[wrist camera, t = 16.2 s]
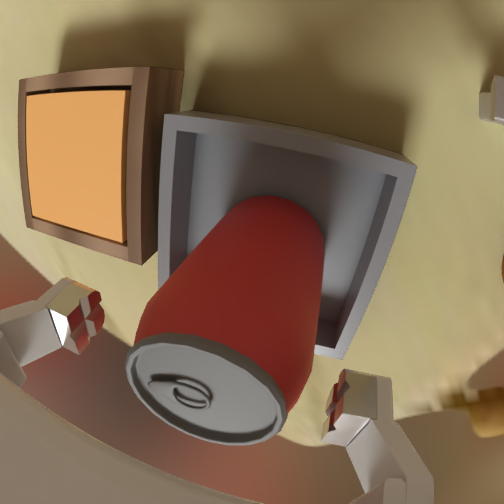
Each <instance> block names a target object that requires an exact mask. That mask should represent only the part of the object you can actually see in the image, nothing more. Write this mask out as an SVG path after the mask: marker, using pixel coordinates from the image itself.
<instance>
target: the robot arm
mask: <svg viewBox="0 0 504 504" xmlns="http://www.w3.org/2000/svg"><path fill="white" fill-rule="evenodd" d="M101 300H102V299H101V295H100V292H98V291H96V290H94V289H92V288H89V287H87V286H85V285H83V284H81V283H79V282H77V281H74V280H72V279H70V278H68V277H65V278H62V279H61V280H60V281H58V282H57V283H56V284H55V285H54V286H53V287H52V288H51V289H49V290H48V291H47V292H46V293H45V294H44V295H42V297H40V298H39V299H38V300H37V301H34V300H32V301H29V302H25V303H22V304H19V305H16V306H13V307H9V308H6V309H3V310H0V504H264V503H259V502H255V501H251V500H247V499H244V498H239V497H236V496H232V495H229V494H226V493H222V492H219V491H216V490H213V489H210V488H207V487H204V486H201V485H198V484H195V483H192V482H189V481H187V480H184V479H181V478H179V477H176V476H173V475H171V474H169V473H166V472H164V471H161V470H159V469H157V468H154V467H152V466H150V465H148V464H145V463H143V462H141V461H139V460H137V459H134V458H132V457H130V456H128V455H126V454H124V453H122V452H120V451H118V450H116V449H114V448H112V447H111V446H108V445H107V444H105V443H103V442H101V441H99V440H98V439H96V438H94V437H92V436H91V435H89V434H87V433H85V432H84V431H82V430H80V429H79V428H77V427H75V426H74V425H72V424H71V423H69V422H67V421H66V420H64V419H63V418H61V417H60V416H58V415H57V414H55V413H53V412H52V411H51V410H49V409H48V408H46V407H45V406H43V405H42V404H41V403H39V402H38V401H37V400H35V399H34V398H32V397H31V396H29V395H28V394H27V393H26V392H24V391H23V390H21V389H20V386H21V385H22V384H23V383H24V381H25V380H26V375H25V373H24V372H23V370H22V368H21V367H22V366H24V365H26V364H28V363H30V362H32V361H34V360H36V359H38V358H40V357H42V356H44V355H46V354H48V353H51V352H53V351H55V350H57V349H59V348H60V347H62V346H63V347H65V348H67V349H68V350H71V351H72V352H74V353H76V354H78V355H80V353H81V352H82V351H83V350H84V349H85V347H86V346H87V345H88V344H89V343H90V337H91V336H94V335H96V334H97V333H98V332H99V331H100V330H101V328H102V326H103V323H104V317H105V315H104V310H103V308H102V307H101V305H100V304H99V303H100V302H101ZM325 412H326V414H327V416H328V418H327V419H326V421H325V422H324V424H323V431H322V437H321V442H326V443H330V444H335V445H340V446H346V449H347V451H348V454H349V456H350V459H351V461H352V463H353V466H354V468H355V470H356V473H357V475H358V477H359V480H360V482H361V484H362V487H363V489H364V492H365V494H364V495H362V496H360V497H359V498H357V499H355V500H354V501H352V502H350V503H349V504H433V498H434V496H433V495H434V488H433V487H434V486H433V484H434V482H433V481H434V480H433V477H432V475H431V474H430V472H429V471H428V469H427V468H426V466H425V464H424V463H423V461H422V460H421V458H420V457H419V455H418V454H417V452H416V451H415V449H414V447H413V446H412V444H411V443H410V441H409V440H408V438H407V437H406V435H405V433H404V432H403V430H402V429H401V427H400V426H399V424H398V423H395V422H393V395H392V380H391V378H389V377H383V376H378V375H374V374H369V373H363V372H358V371H353V370H349V369H343V370H342V372H341V373H340V375H339V381H338V383H336V384H334V386H333V387H332V389H331V391H330V394H329V397H328V400H327V404H326V410H325Z"/></svg>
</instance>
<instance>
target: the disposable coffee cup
mask: <svg viewBox="0 0 504 504" xmlns="http://www.w3.org/2000/svg"><path fill="white" fill-rule="evenodd" d="M502 278H503V282H504V257H503V261H502Z"/></svg>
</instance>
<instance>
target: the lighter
mask: <svg viewBox="0 0 504 504" xmlns="http://www.w3.org/2000/svg"><path fill="white" fill-rule="evenodd" d="M479 117H480V119H481V120H485V121H489V122H493V123H497V124H501V125H504V77H502V76H498V75H495V76H494V79H493V81H492V84H491V92H481V93H480V94H479Z"/></svg>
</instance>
